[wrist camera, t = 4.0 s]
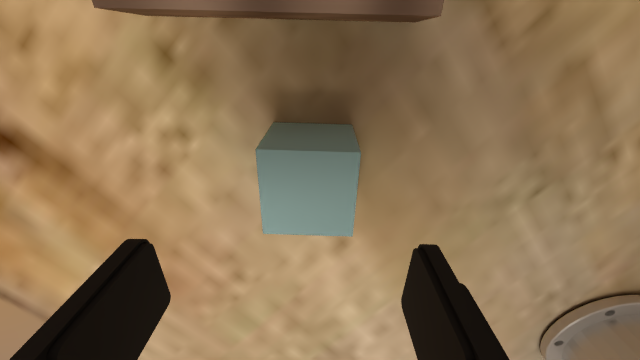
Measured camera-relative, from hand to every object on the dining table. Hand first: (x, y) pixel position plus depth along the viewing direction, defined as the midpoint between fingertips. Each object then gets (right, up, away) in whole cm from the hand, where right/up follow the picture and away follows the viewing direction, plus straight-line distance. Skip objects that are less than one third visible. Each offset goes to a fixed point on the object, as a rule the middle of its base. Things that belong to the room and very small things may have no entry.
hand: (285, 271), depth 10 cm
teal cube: (+1, +5, +10) cm, 11 cm away
